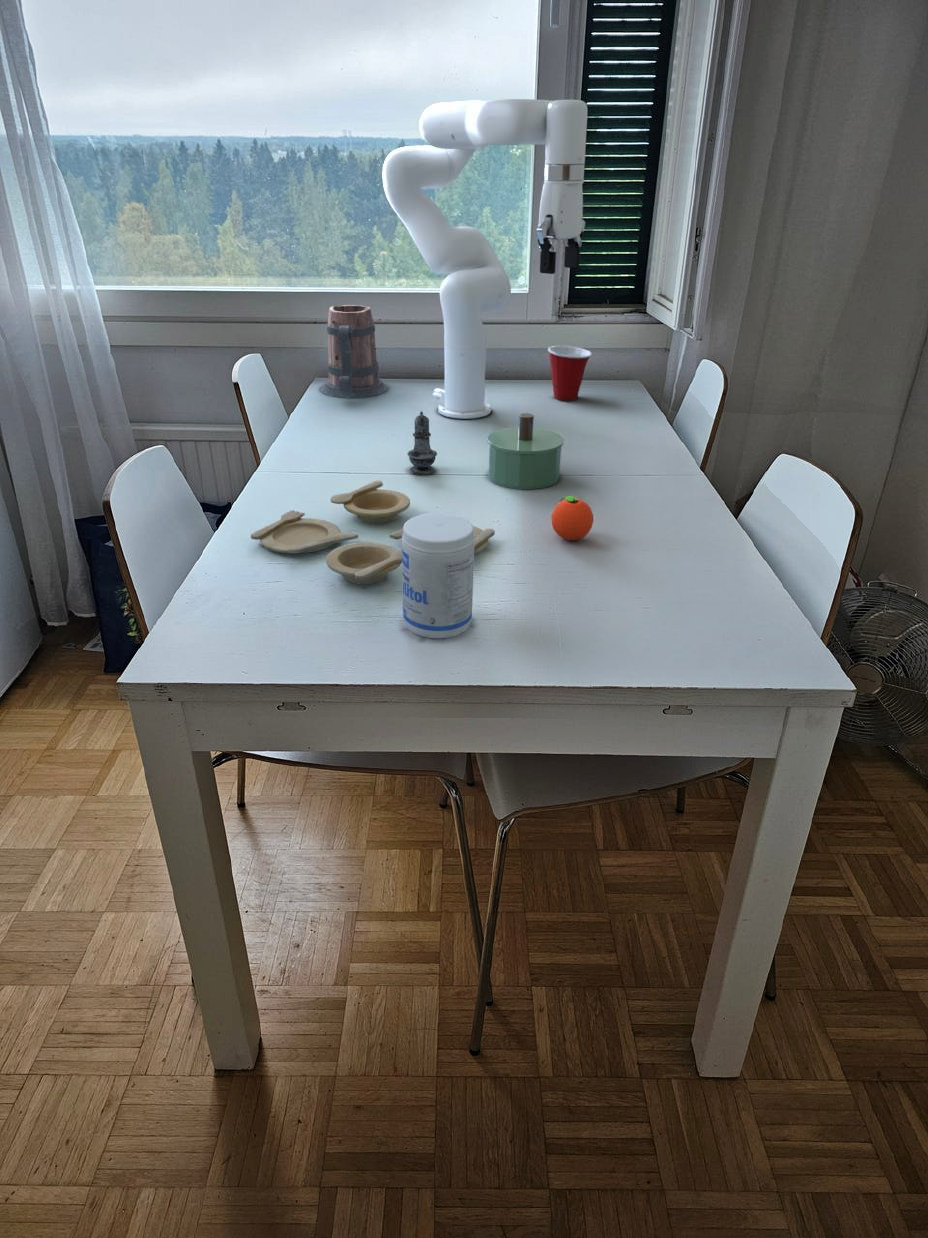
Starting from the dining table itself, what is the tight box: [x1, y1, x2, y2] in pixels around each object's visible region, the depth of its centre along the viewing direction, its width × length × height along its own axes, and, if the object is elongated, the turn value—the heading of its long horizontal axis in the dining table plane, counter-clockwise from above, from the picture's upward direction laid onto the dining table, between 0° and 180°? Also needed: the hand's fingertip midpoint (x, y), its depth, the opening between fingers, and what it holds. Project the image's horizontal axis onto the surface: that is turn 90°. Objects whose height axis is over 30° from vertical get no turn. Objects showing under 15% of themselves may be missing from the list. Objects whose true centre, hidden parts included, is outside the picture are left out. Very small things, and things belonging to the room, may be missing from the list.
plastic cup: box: [547, 345, 592, 402], centre depth 216 cm, size 11×11×12 cm
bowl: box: [488, 444, 562, 490], centre depth 168 cm, size 14×14×7 cm
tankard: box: [320, 304, 388, 399], centre depth 216 cm, size 24×17×20 cm
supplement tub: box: [401, 512, 475, 639], centre depth 117 cm, size 10×10×15 cm
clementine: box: [550, 495, 594, 541], centre depth 144 cm, size 8×7×7 cm
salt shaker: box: [406, 410, 438, 476], centre depth 169 cm, size 6×6×12 cm
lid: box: [486, 412, 565, 454], centre depth 165 cm, size 15×15×6 cm
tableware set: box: [250, 480, 496, 585], centre depth 142 cm, size 35×29×4 cm
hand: (559, 270), depth 175 cm, fingers open, 9 cm apart
